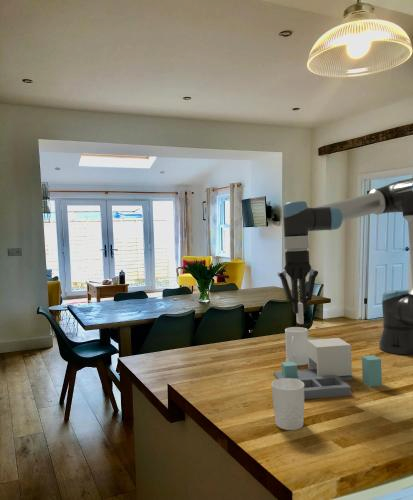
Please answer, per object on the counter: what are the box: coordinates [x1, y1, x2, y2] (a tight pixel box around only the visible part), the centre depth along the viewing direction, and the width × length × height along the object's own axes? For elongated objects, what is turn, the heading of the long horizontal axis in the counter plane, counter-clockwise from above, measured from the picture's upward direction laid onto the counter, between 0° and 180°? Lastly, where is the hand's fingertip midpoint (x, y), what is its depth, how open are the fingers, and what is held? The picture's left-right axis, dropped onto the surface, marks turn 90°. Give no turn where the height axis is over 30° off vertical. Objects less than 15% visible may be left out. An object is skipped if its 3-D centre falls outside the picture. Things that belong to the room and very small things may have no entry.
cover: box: [307, 337, 353, 376], centre depth 127 cm, size 11×9×10 cm
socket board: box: [292, 375, 352, 400], centre depth 116 cm, size 16×10×2 cm, turn 95°
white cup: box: [271, 378, 305, 431], centre depth 96 cm, size 8×8×10 cm
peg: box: [361, 355, 383, 388], centre depth 119 cm, size 4×4×8 cm
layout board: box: [273, 361, 355, 382], centre depth 127 cm, size 23×10×5 cm, turn 95°
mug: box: [284, 326, 309, 367], centre depth 142 cm, size 12×8×12 cm
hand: (300, 323), depth 126 cm, fingers closed
